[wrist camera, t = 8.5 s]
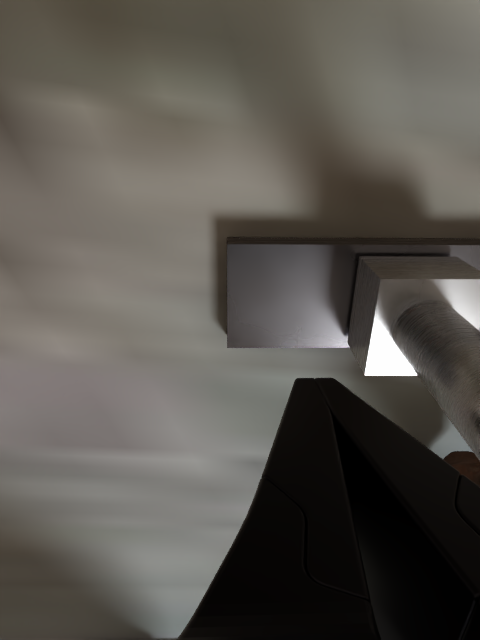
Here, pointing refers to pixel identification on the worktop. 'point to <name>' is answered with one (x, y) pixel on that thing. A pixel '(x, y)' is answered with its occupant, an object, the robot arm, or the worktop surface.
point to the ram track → (309, 285)
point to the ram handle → (422, 330)
